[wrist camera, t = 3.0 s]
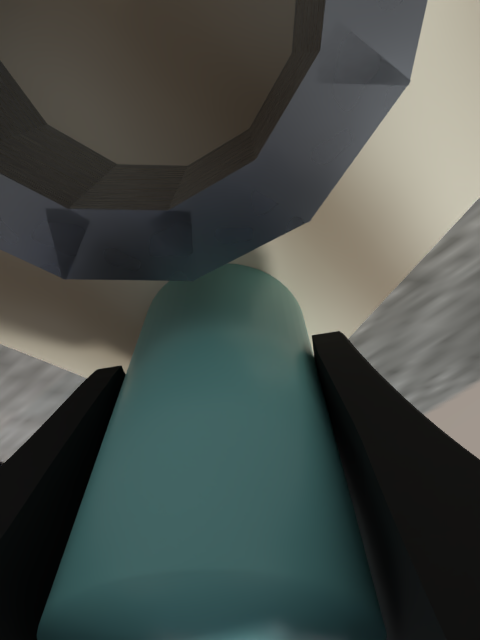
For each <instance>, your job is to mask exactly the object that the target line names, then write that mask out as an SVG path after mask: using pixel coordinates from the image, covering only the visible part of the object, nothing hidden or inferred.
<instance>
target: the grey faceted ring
mask: <svg viewBox="0 0 480 640" xmlns="http://www.w3.org/2000/svg"><path fill="white" fill-rule="evenodd" d="M427 1H428V0H296V3H295V16H294V29H293V42H292V53H291V55H290V57H289V59H288V60H287V62H286V64H285V66H284V68H283V69H282V71H281V73H280V75H279V77H278V78H277V80H276V82H275V84H274V85H273V87H272V89H271V91H270V93H269V94H268V96H267V98H266V100H265V101H264V103H263V105H262V107H261V109H260V110H259V112H258V114H257V116H256V118H255V119H254V121H253V123H252V125H251V126H250V128H249V129H248V130H246V131H244V132H243V133H241V134H239V135H238V136H236V137H234V138H233V139H231V140H229V141H228V142H226V143H224V144H223V145H221V146H219V147H218V148H216V149H214V150H213V151H211V152H210V153H208V154H206V155H205V156H203V157H201V158H200V159H198V160H196V161H195V162H193V163H191V164H190V165H188V166H180V165H128V164H116V163H114V162H113V161H111V160H109V159H107V158H106V157H104V156H102V155H100V154H99V153H97V152H95V151H93V150H92V149H90V148H88V147H86V146H85V145H83V144H81V143H79V142H78V141H76V140H74V139H72V138H71V137H69V136H67V135H65V134H64V133H62V132H60V131H58V130H57V129H55V128H53V127H52V126H50V125H48V124H47V123H46V121H45V120H44V119H43V117H42V116H41V115H40V113H39V112H38V111H37V109H36V108H35V107H34V105H33V104H32V103H31V101H30V100H29V99H28V97H27V96H26V94H25V93H24V92H23V90H22V89H21V88H20V86H19V85H18V84H17V82H16V81H15V80H14V78H13V77H12V76H11V74H10V73H9V72H8V70H7V69H6V68H5V66H4V65H3V63H2V62H1V61H0V250H2V251H4V252H7V253H9V254H11V255H13V256H15V257H17V258H19V259H22V260H24V261H26V262H28V263H30V264H32V265H35V266H37V267H39V268H41V269H43V270H45V271H47V272H50V273H52V274H54V275H56V276H58V277H60V278H62V279H65V280H66V279H77V280H149V281H191V282H192V281H194V280H196V279H198V278H200V277H202V276H204V275H205V274H207V273H209V272H211V271H213V270H215V269H217V268H219V267H221V266H223V265H225V264H227V263H229V262H231V261H233V260H235V259H237V258H239V257H241V256H243V255H245V254H247V253H249V252H250V251H252V250H254V249H256V248H258V247H260V246H262V245H264V244H266V243H268V242H270V241H272V240H274V239H276V238H278V237H280V236H282V235H284V234H286V233H288V232H290V231H292V230H294V229H295V228H297V227H299V226H301V225H303V224H305V223H307V222H308V223H309V222H310V221H311V219H312V217H313V216H314V215H315V213H316V212H317V211H318V209H319V208H320V206H321V205H322V204H323V202H324V201H325V199H326V198H327V197H328V195H329V194H330V193H331V191H332V190H333V188H334V187H335V186H336V184H337V183H338V181H339V180H340V179H341V177H342V176H343V174H344V173H345V172H346V170H347V169H348V168H349V166H350V165H351V163H352V162H353V161H354V159H355V158H356V156H357V155H358V154H359V152H360V151H361V149H362V148H363V147H364V145H365V144H366V143H367V141H368V140H369V138H370V137H371V136H372V134H373V133H374V131H375V130H376V129H377V127H378V126H379V124H380V123H381V122H382V120H383V119H384V118H385V116H386V115H387V113H388V112H389V111H390V109H391V108H392V106H393V105H394V104H395V102H396V101H397V100H398V98H399V97H400V95H401V94H402V93H403V91H404V90H405V88H406V87H407V86H408V85H409V83H410V81H411V80H410V78H411V74H412V69H413V65H414V60H415V55H416V51H417V46H418V42H419V37H420V33H421V28H422V24H423V19H424V15H425V10H426V6H427Z"/></svg>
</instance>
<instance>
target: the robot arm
mask: <svg viewBox="0 0 480 640" xmlns="http://www.w3.org/2000/svg"><path fill="white" fill-rule="evenodd" d="M312 342H313V351H314V359H315V363H316V367H317V370H318V374H319V378H320V382H321V386H322V389H323V393H324V397H325V401H326V404H327V408H328V412H329V416H330V420H331V423H332V427H333V431H334V435H335V439H336V442H337V446H338V450H339V454H340V458H341V461H342V465H343V469H344V473H345V477H346V480H347V484H348V488H349V492H350V496H351V499H352V503H353V507H354V511H355V515H356V518H357V522H358V526H359V530H360V534H361V537H362V541H363V545H364V549H365V553H366V556H367V560H368V564H369V568H370V572H371V576H372V579H373V583H374V587H375V591H376V595H377V598H378V602H379V606H380V610H381V614H382V617H383V621H384V625H385V629H386V633H387V640H480V460H479V459H478V458H477V457H475V456H474V455H473V454H471V453H470V452H469V451H467V450H466V449H465V448H463V447H462V446H461V445H460V444H458V443H457V442H456V441H454V440H453V439H452V438H451V437H449V436H448V435H447V434H446V433H444V432H443V431H442V430H441V429H440V428H438V427H437V426H436V425H435V424H434V423H432V422H431V421H430V420H429V419H428V418H427V417H425V416H424V415H423V414H422V413H421V412H420V411H418V410H417V409H416V408H415V407H414V406H413V405H412V404H411V403H410V402H408V401H407V400H406V399H405V398H404V397H403V396H402V395H401V394H400V393H399V392H398V391H397V390H396V389H395V388H394V387H393V386H391V385H390V384H389V383H388V382H387V381H386V380H385V379H384V378H383V377H382V376H381V375H380V374H379V373H378V372H377V371H376V370H375V369H374V368H373V367H372V366H371V365H370V363H369V362H368V361H367V360H366V359H365V358H364V357H363V356H362V355H361V354H360V353H359V351H358V350H357V349H356V348H355V347H354V346H353V345H352V343H351V342H350V341H349V340H348V339H347V337H346V336H345V335H344V334H343V333H341V332H340V331H336V332H329V333H323V334H317V335H312ZM125 375H126V374H125V372H124V370H123V368H122V366H114V367H108V368H102V369H97V370H96V371H94V372H93V373H92V374H91V375H90V376H89V377H88V378H87V379H86V380H85V381H84V382H83V383H82V384H81V385H80V386H79V387H78V388H77V389H76V390H75V391H74V392H73V394H72V395H71V396H70V397H69V398H68V399H67V400H66V401H65V402H64V403H63V404H62V405H61V406H60V407H59V408H58V409H57V410H56V411H55V413H54V414H53V415H52V416H51V417H50V418H49V419H48V420H47V421H46V422H45V423H44V424H43V425H42V426H41V427H40V428H39V429H38V430H37V431H36V432H35V433H34V434H33V435H32V436H31V438H30V439H29V440H28V441H27V442H26V443H25V444H24V445H22V446H21V447H20V448H19V449H18V450H17V451H16V452H15V453H14V454H13V455H12V456H11V457H10V458H9V459H8V460H7V461H6V462H5V463H4V464H3V465H2V466H1V467H0V640H37V630H38V626H39V623H40V620H41V617H42V614H43V611H44V608H45V606H46V603H47V600H48V597H49V594H50V591H51V588H52V585H53V583H54V580H55V577H56V574H57V571H58V568H59V565H60V562H61V559H62V557H63V554H64V551H65V548H66V545H67V542H68V539H69V536H70V534H71V531H72V528H73V525H74V522H75V519H76V516H77V513H78V511H79V508H80V505H81V502H82V499H83V496H84V493H85V490H86V488H87V485H88V482H89V479H90V476H91V473H92V470H93V467H94V464H95V462H96V459H97V456H98V453H99V450H100V447H101V444H102V441H103V439H104V436H105V433H106V430H107V427H108V424H109V421H110V418H111V416H112V413H113V410H114V407H115V404H116V401H117V398H118V395H119V392H120V390H121V387H122V384H123V381H124V378H125Z"/></svg>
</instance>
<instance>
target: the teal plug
mask: <svg viewBox="0 0 480 640" xmlns="http://www.w3.org/2000/svg"><path fill="white" fill-rule="evenodd" d="M37 640H387V633H386V629H385V625H384V621H383V617H382V614H381V610H380V606H379V602H378V598H377V595H376V591H375V587H374V583H373V579H372V576H371V572H370V568H369V564H368V560H367V556H366V553H365V549H364V545H363V541H362V537H361V534H360V530H359V526H358V522H357V518H356V515H355V511H354V507H353V503H352V499H351V496H350V492H349V488H348V484H347V480H346V477H345V473H344V469H343V465H342V461H341V458H340V454H339V450H338V446H337V442H336V439H335V435H334V431H333V427H332V423H331V420H330V416H329V412H328V408H327V404H326V401H325V397H324V393H323V389H322V386H321V382H320V378H319V374H318V370H317V367H316V363H315V359H314V355H313V351H312V347H311V344H310V340H309V336H308V332H307V328H306V325H305V321H304V317H303V313H302V310H301V308H300V306H299V304H298V302H297V300H296V299H295V297H294V296H293V294H292V293H291V292H290V291H289V290H288V289H287V287H286V286H284V285H283V284H282V283H281V282H280V281H278V280H277V279H275V278H274V277H272V276H271V275H269V274H267V273H265V272H263V271H261V270H258V269H255V268H252V267H249V266H244V265H239V264H229V263H227V264H225V265H223V266H221V267H219V268H217V269H215V270H213V271H211V272H209V273H207V274H205V275H204V276H202V277H200V278H198V279H196V280H194V281H192V282H191V281H169V282H168V283H167V284H165V285H164V286H163V287H162V289H161V290H160V291H159V292H158V293H157V294H156V296H155V297H154V299H153V300H152V303H151V305H150V307H149V309H148V312H147V315H146V318H145V321H144V323H143V326H142V329H141V332H140V335H139V338H138V341H137V344H136V346H135V349H134V352H133V355H132V358H131V361H130V364H129V367H128V369H127V372H126V375H125V378H124V381H123V384H122V387H121V390H120V392H119V395H118V398H117V401H116V404H115V407H114V410H113V413H112V416H111V418H110V421H109V424H108V427H107V430H106V433H105V436H104V439H103V441H102V444H101V447H100V450H99V453H98V456H97V459H96V462H95V464H94V467H93V470H92V473H91V476H90V479H89V482H88V485H87V488H86V490H85V493H84V496H83V499H82V502H81V505H80V508H79V511H78V513H77V516H76V519H75V522H74V525H73V528H72V531H71V534H70V536H69V539H68V542H67V545H66V548H65V551H64V554H63V557H62V559H61V562H60V565H59V568H58V571H57V574H56V577H55V580H54V583H53V585H52V588H51V591H50V594H49V597H48V600H47V603H46V606H45V608H44V611H43V614H42V617H41V620H40V623H39V626H38V630H37Z"/></svg>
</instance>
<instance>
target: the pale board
mask: <svg viewBox="0 0 480 640" xmlns="http://www.w3.org/2000/svg"><path fill="white" fill-rule="evenodd" d="M295 3H296V0H0V61H1V62H2V63H3V65H4V66H5V68H6V69H7V70H8V72H9V73H10V74H11V76H12V77H13V78H14V80H15V81H16V82H17V84H18V85H19V86H20V88H21V89H22V90H23V92H24V93H25V94H26V96H27V97H28V99H29V100H30V101H31V103H32V104H33V105H34V107H35V108H36V109H37V111H38V112H39V113H40V115H41V116H42V117H43V119H44V120H45V121H46V123H47V124H48V125H50V126H52V127H53V128H55V129H57V130H58V131H60V132H62V133H64V134H65V135H67V136H69V137H71V138H72V139H74V140H76V141H78V142H79V143H81V144H83V145H85V146H86V147H88V148H90V149H92V150H93V151H95V152H97V153H99V154H100V155H102V156H104V157H106V158H107V159H109V160H111V161H113V162H114V163H116V164H128V165H180V166H188V165H190V164H191V163H193V162H195V161H196V160H198V159H200V158H201V157H203V156H205V155H206V154H208V153H210V152H211V151H213V150H214V149H216V148H218V147H219V146H221V145H223V144H224V143H226V142H228V141H229V140H231V139H233V138H234V137H236V136H238V135H239V134H241V133H243V132H244V131H246V130H248V129H249V128H250V126H251V125H252V123H253V121H254V119H255V118H256V116H257V114H258V112H259V110H260V109H261V107H262V105H263V103H264V101H265V100H266V98H267V96H268V94H269V93H270V91H271V89H272V87H273V85H274V84H275V82H276V80H277V78H278V77H279V75H280V73H281V71H282V69H283V68H284V66H285V64H286V62H287V60H288V59H289V57H290V55H291V53H292V42H293V29H294V16H295ZM410 80H411V81H410V83H409V85H408V86H407V87H406V88H405V90H404V91H403V93H402V94H401V95H400V97H399V98H398V100H397V101H396V102H395V104H394V105H393V106H392V108H391V109H390V111H389V112H388V113H387V115H386V116H385V118H384V119H383V120H382V122H381V123H380V124H379V126H378V127H377V129H376V130H375V131H374V133H373V134H372V136H371V137H370V138H369V140H368V141H367V143H366V144H365V145H364V147H363V148H362V149H361V151H360V152H359V154H358V155H357V156H356V158H355V159H354V161H353V162H352V163H351V165H350V166H349V168H348V169H347V170H346V172H345V173H344V174H343V176H342V177H341V179H340V180H339V181H338V183H337V184H336V186H335V187H334V188H333V190H332V191H331V193H330V194H329V195H328V197H327V198H326V199H325V201H324V202H323V204H322V205H321V206H320V208H319V209H318V211H317V212H316V213H315V215H314V216H313V217H312V219H311V221H310V222H309V223H308V222H307V223H305V224H303V225H301V226H299V227H297V228H295V229H294V230H292V231H290V232H288V233H286V234H284V235H282V236H280V237H278V238H276V239H274V240H272V241H270V242H268V243H266V244H264V245H262V246H260V247H258V248H256V249H254V250H252V251H250V252H249V253H247V254H245V255H243V256H241V257H239V258H237V259H235V260H233V261H231V262H229V264H239V265H244V266H249V267H252V268H255V269H258V270H261V271H263V272H265V273H267V274H269V275H271V276H272V277H274V278H275V279H277V280H278V281H280V282H281V283H282V284H283V285H284V286H286V287H287V289H288V290H289V291H290V292H291V293H292V294H293V296H294V297H295V299H296V300H297V302H298V304H299V306H300V308H301V310H302V313H303V317H304V321H305V325H306V328H307V332H308V336H309V340H310V344H311V347H312V351H313V342H312V335H317V334H323V333H329V332H336V331H340V332H341V333H343V334H344V335H345V336H346V337H347V339H348V338H349V337H350V336H351V335H352V334H353V333H354V332H355V331H356V330H357V329H358V328H359V327H360V325H361V324H362V323H363V322H364V321H365V320H366V319H367V318H368V317H369V316H370V315H371V314H372V313H373V311H374V310H375V309H376V308H377V307H378V306H379V305H380V304H381V303H382V302H383V301H384V300H385V299H386V298H387V296H388V295H389V294H390V293H391V292H392V291H393V290H394V289H395V288H396V287H397V286H398V285H399V284H400V282H401V281H402V280H403V279H404V278H405V277H406V276H407V275H408V274H409V273H410V272H411V271H412V270H413V268H414V267H415V266H416V265H417V264H418V263H419V262H420V261H421V260H422V259H423V258H424V257H425V256H426V255H427V253H428V252H429V251H430V250H431V249H432V248H433V247H434V246H435V245H436V244H437V243H438V242H439V241H440V239H441V238H442V237H443V236H444V235H445V234H446V233H447V232H448V231H449V230H450V229H451V228H452V227H453V226H454V224H455V223H456V222H457V221H458V220H459V219H460V218H461V217H462V216H463V215H464V214H465V213H466V212H467V210H468V209H469V208H470V207H471V206H472V205H473V204H474V203H475V202H476V201H477V200H478V199H479V198H480V0H428V1H427V6H426V10H425V15H424V19H423V24H422V28H421V33H420V37H419V42H418V46H417V51H416V55H415V60H414V65H413V69H412V74H411V78H410ZM168 282H169V281H149V280H77V279H66V280H65V279H62V278H60V277H58V276H56V275H54V274H52V273H50V272H47V271H45V270H43V269H41V268H39V267H37V266H35V265H32V264H30V263H28V262H26V261H24V260H22V259H19V258H17V257H15V256H13V255H11V254H9V253H7V252H4V251H2V250H0V344H2V345H4V346H7V347H9V348H12V349H14V350H17V351H20V352H22V353H25V354H27V355H30V356H32V357H35V358H37V359H40V360H42V361H45V362H47V363H50V364H52V365H55V366H57V367H60V368H62V369H65V370H67V371H70V372H72V373H75V374H77V375H80V376H82V377H85V378H88V377H89V376H90V375H91V374H92V373H93V372H94V371H96V370H97V369H102V368H108V367H114V366H122V368H123V370H124V372H125V374H126V372H127V369H128V367H129V364H130V361H131V358H132V355H133V352H134V349H135V346H136V344H137V341H138V338H139V335H140V332H141V329H142V326H143V323H144V321H145V318H146V315H147V312H148V309H149V307H150V305H151V303H152V300H153V299H154V297H155V296H156V294H157V293H158V292H159V291H160V290H161V289H162V287H163V286H164V285H165V284H167V283H168ZM313 355H314V351H313Z"/></svg>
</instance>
